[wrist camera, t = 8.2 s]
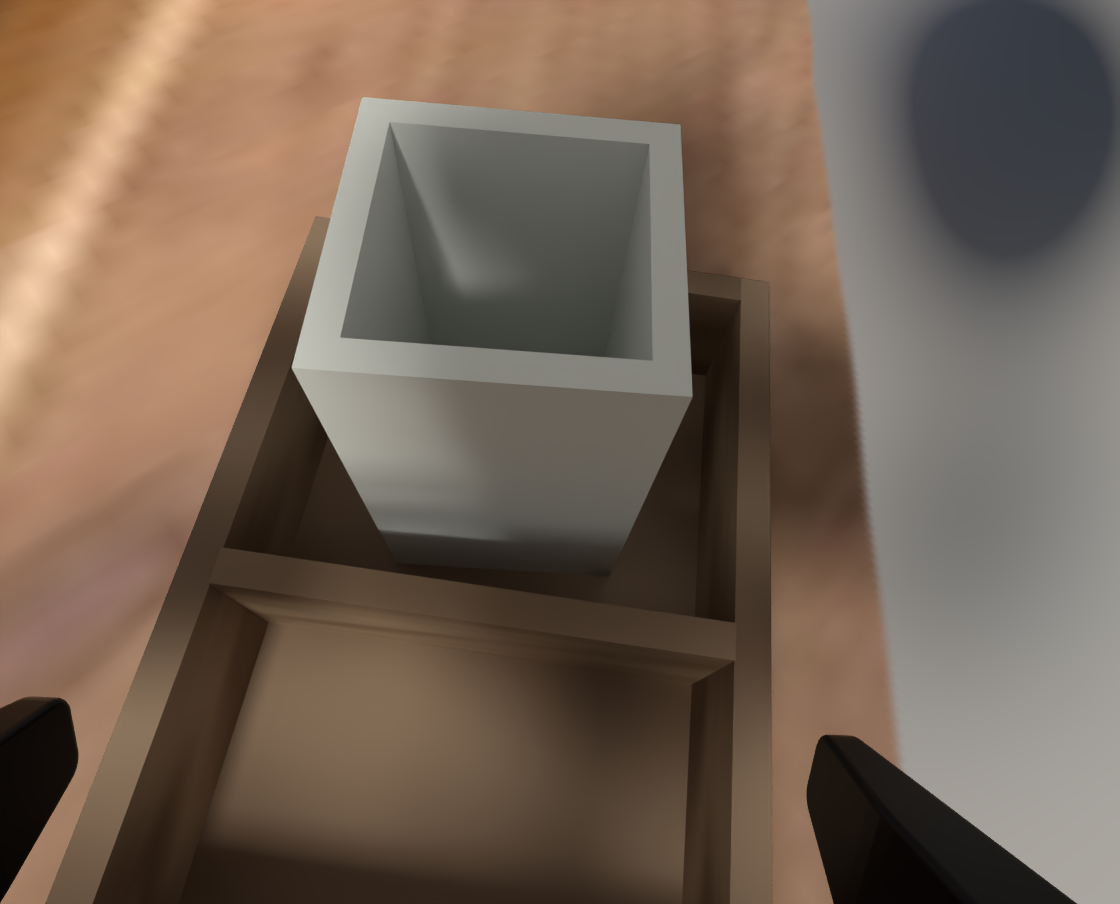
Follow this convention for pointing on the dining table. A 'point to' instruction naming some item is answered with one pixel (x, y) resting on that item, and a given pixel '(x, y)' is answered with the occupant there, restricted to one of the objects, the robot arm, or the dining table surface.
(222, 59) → the dining table surface
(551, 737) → the crate
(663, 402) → the box
